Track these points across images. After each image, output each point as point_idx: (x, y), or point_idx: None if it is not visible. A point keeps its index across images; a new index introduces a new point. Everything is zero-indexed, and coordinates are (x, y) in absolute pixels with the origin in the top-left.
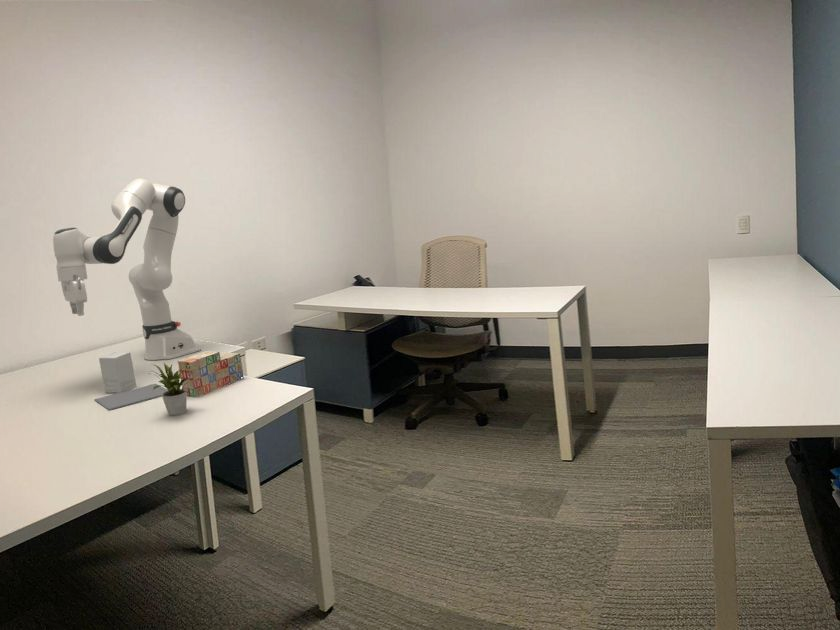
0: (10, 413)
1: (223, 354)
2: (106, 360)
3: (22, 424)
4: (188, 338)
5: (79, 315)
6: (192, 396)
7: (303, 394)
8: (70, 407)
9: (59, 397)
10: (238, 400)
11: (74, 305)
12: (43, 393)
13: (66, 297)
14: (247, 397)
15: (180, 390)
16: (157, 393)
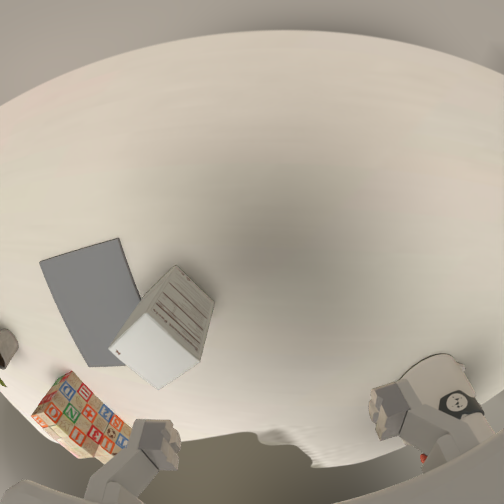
0: (154, 50)
1: None
2: (128, 325)
3: (52, 102)
4: (404, 442)
5: (138, 421)
6: (62, 376)
7: (41, 433)
8: (99, 185)
9: (219, 150)
10: (35, 398)
11: (426, 442)
12: (308, 109)
13: (501, 468)
14: None
15: (5, 365)
16: (91, 348)
